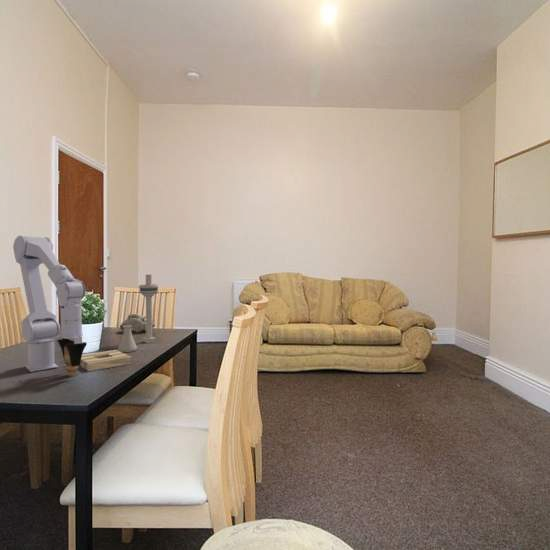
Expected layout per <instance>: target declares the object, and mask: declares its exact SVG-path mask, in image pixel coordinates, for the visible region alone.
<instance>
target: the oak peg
mask: <svg viewBox="0 0 550 550" xmlns="http://www.w3.org/2000/svg"><path fill="white" fill-rule="evenodd" d="M63 360H65V361H64V365H65V367H64V368H65V371H66V376H67V377H69V378H70V377H76V376H77V375H78V369H79V366H73V367H72V366H71V362H70V356H69V352H68V350H67V348H66V346H65V347H64V357H63Z"/></svg>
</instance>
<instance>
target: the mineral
mask: <svg viewBox="0 0 550 550" xmlns="http://www.w3.org/2000/svg"><path fill="white" fill-rule="evenodd" d="M126 325H131V326H132V327H131V329H133V330H134V332H135V333H138V332H139V333H140V332H146V315H143V314H140V313H131V314H130V313H129V314H128V315H127V318H126V319H125V320H124V321H123V322H121V323H120V325H119V328H120V331H123V332H124V328H123V326H126ZM155 327H156V324H155V321H154V320H153V319H152V328H155Z"/></svg>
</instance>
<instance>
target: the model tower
mask: <svg viewBox="0 0 550 550" xmlns="http://www.w3.org/2000/svg"><path fill="white" fill-rule="evenodd" d="M152 282H153V280H152V274H146V275H145V284H139V285H138V289H139V290H138V292H139V294H141V295H142V296H144V298H145V316H146V318H145V320H146V331H145V336H146V337H142V342H143V343H146V344H150V343H154V342H155V343H156V341H157V340H156V338H157V337H153V327H152V320H153V297H154V296H155V295H156V294H157V293H159V288H160V287H159V284H154V283H152Z"/></svg>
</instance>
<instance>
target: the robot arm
mask: <svg viewBox="0 0 550 550" xmlns="http://www.w3.org/2000/svg"><path fill="white" fill-rule="evenodd" d="M12 248H13V254H14V258H15V262H16V263H17V264H19V266H20V269H21V276H22V281H23V286H24V287H23V288H24V292H25V296H26V297H25V298H26V302H27V307H28V312H29V313H28V314H27V315H26V316H25V317H24V318H23V319H22V320H21V337H22V339H23V340H24V341H25V342H26V343H28V347H27V361H28V362H27V364H25V365H24V367H25V368H26V369H27V370H28V371H29V372H30V373H31V372H33V373H34V372H38V371H45V370H51V369H56V368H59V365H58V364H56V363H55V341H57V343H58V345H59V347H60V349H61V353H62V357H63V358H64V347H65V346H66V348H67V350H68V352H69V356H70V362H71V366H72V367H73V366H78V367H80V366H79V365H80V362H81V357H82V355H83V353H84V351H85V348H86V347H87V342H86V341H84V342H83V323H82V322H83V321H82V320H83V319H82V317H83V315H82V313H83V312H82V311H83V309H82V299H84V298H85V295H86V293H87V292H86V291H87V290H86V286H85V284H84V282H83V280H79V279H77V278H76V279H75V277H74V276H73V274H72V273H71V272H70V270H69V269H68V268H67V266H66V265H65V264H61V263H60V262H59V260H58V259H57V257H56V255H55V253H54V252H53V249H54V243H53V242H52V240H51V238H50V237H48V236H46V237H39V236H25V235H24V236H23V235H18V236H16V238H15V239H14V242H13V246H12ZM42 264H43V265H44V266H45V267H46V268H47V269H48V271H47V276H48V277H49V279H50V281H51V282H52V284H53V285H54V287H55V288H56V290H55V295H56V298H57V300H58V306H60V323H59V321H58V319H57V315H56V314H55V313H53V312H52V311H51V312H50V311H49V310H48V307H47V301H46V297H45V293H44V288H43V282H42V278H41V273H40V272H41V271H40V267H39V266H40V265H42ZM63 360H64V359H63ZM64 362H65V360H64Z"/></svg>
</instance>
